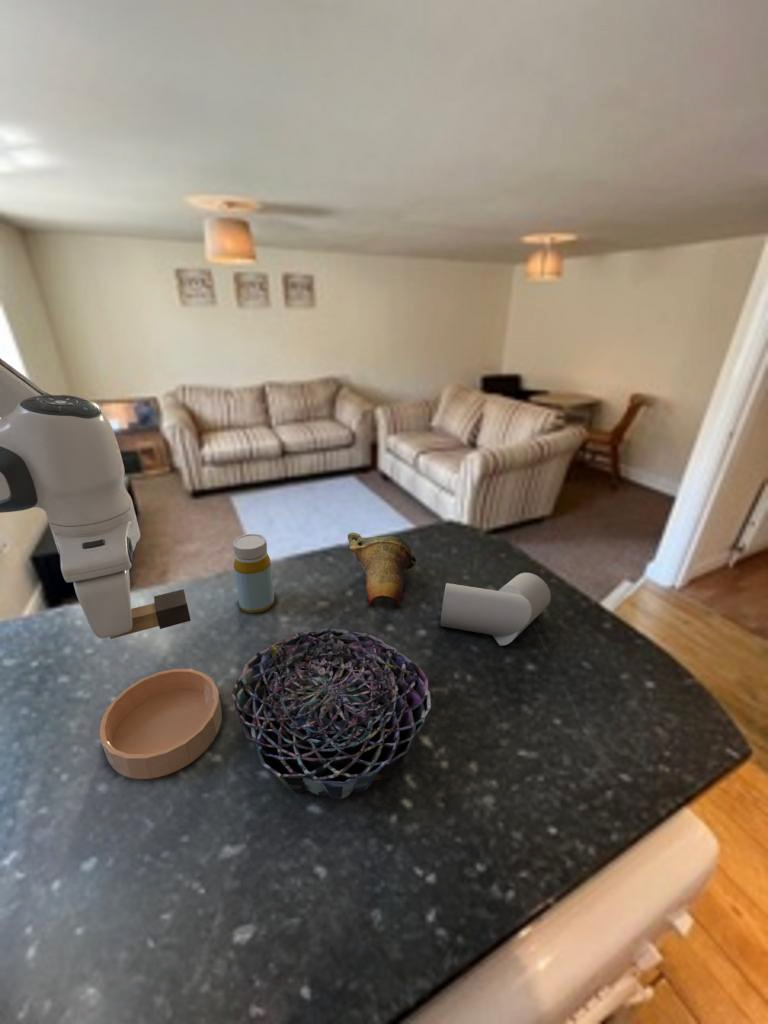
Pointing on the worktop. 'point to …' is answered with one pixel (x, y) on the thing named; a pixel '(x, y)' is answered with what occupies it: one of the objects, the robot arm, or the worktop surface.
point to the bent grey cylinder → (496, 607)
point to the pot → (383, 563)
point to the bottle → (253, 573)
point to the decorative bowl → (331, 709)
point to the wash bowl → (161, 723)
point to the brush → (160, 613)
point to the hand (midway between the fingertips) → (123, 620)
